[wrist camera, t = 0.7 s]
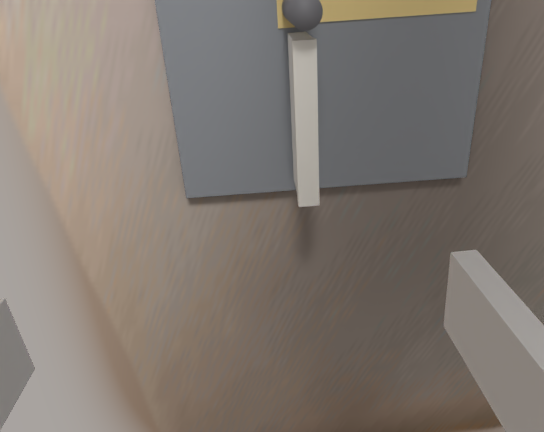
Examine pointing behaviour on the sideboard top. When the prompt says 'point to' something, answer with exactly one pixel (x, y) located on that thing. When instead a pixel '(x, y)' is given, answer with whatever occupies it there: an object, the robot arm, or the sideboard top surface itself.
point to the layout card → (323, 91)
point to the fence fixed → (303, 13)
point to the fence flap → (304, 116)
